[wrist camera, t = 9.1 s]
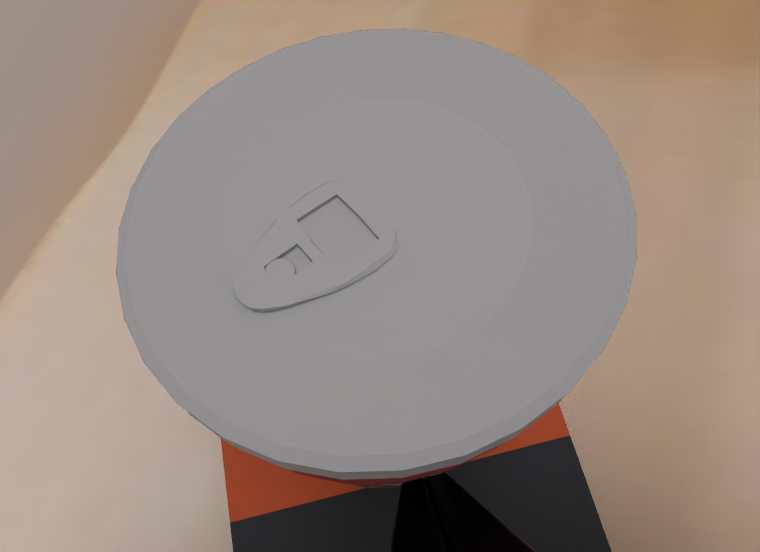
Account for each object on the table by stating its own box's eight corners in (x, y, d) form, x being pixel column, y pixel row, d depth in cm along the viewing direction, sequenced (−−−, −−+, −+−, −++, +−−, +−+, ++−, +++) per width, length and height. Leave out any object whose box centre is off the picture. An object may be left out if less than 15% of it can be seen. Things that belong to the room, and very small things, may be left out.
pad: (567, 435, 17) (570, 435, 17) (231, 522, 16) (229, 523, 15) (505, 259, 19) (506, 257, 19) (209, 324, 18) (208, 323, 18)
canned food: (230, 402, 17) (-6, 264, 7) (362, 240, 19) (335, -32, 9) (411, 545, 15) (462, 651, 5) (529, 342, 17) (720, 135, 7)
